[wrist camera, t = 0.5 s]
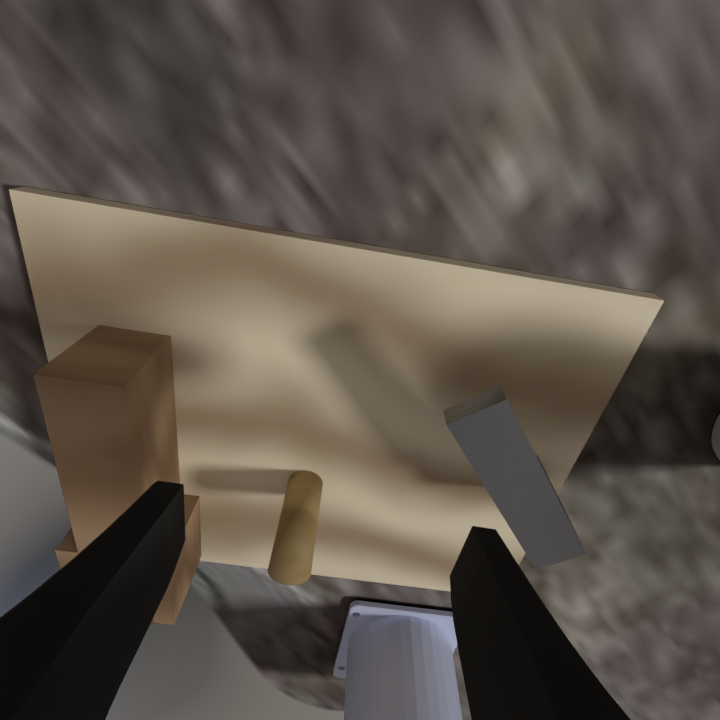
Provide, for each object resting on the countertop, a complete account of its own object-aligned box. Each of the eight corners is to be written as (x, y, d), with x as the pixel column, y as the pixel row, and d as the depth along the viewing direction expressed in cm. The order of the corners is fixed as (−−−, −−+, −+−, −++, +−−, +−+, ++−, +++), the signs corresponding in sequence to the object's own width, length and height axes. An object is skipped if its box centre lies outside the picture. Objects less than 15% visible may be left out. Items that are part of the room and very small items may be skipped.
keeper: (427, 347, 18) (446, 425, 13) (471, 326, 18) (506, 399, 13) (509, 488, 22) (546, 586, 17) (547, 474, 21) (595, 571, 17)
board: (497, 585, 27) (526, 691, 22) (98, 535, 26) (31, 636, 21) (652, 293, 18) (766, 363, 12) (24, 185, 16) (-136, 216, 11)
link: (201, 555, 25) (174, 625, 22) (115, 544, 25) (73, 613, 21) (194, 339, 18) (152, 391, 15) (74, 321, 18) (2, 369, 14)
